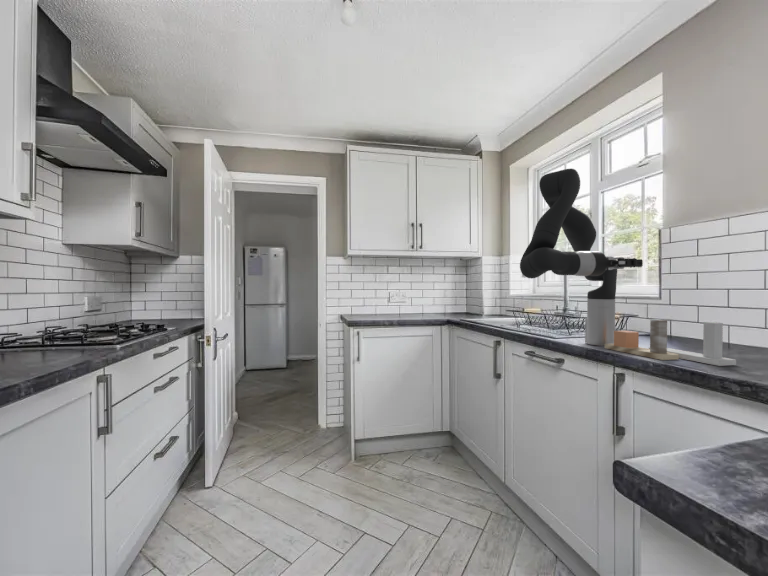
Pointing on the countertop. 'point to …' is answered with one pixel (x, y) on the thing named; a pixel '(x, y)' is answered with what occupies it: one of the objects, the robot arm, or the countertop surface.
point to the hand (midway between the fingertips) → (629, 263)
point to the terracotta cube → (626, 339)
